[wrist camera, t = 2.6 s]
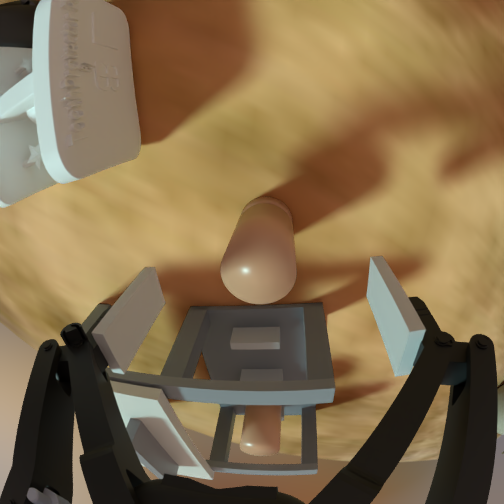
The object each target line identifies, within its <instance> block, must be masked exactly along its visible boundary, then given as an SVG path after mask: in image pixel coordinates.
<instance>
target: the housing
mask: <svg viewBox="0 0 504 504" xmlns="http://www.w3.org/2000/svg"><path fill="white" fill-rule="evenodd" d="M110 306H111V305H109V304H98V305H97V306H96V308H95V309H94V310H93V311H92V312H91V314H90V315H89V316H88V317H87V319H86V320H85V321H84V322H83V324H82V325H81V326H82V328H83V330H84V332H85V334H86V333H87V332H88V330H89V329H90V328H91V327H92V325H93V324H94V323H95V322H96V320H97V319H98V318H99V317H100V315H101V314H102V313H103V312H104V311H105V310H106V309H108V308H109V307H110ZM65 346H66V345H65ZM201 351H202V354H203V357H204V360H205V363H206V366H207V369H208V372H209V375H210V378H211V380H206V379H193V376H194V372H195V369H196V366H197V363H198V360H199V357H200V354H201ZM105 370H106V371H107V373H108V376H109V379H110V380H111V381H116V382H121V383H126V384H132V385H138V386H144V387H151V388H158V389H162V391H163V393H164V394H165V396H166V398H168V399H176V400H184V401H194V402H204V403H217V404H220V407H221V408H220V413H219V418H218V422H217V427H216V432H215V436H214V441H213V446H212V450H211V455H210V460H206V462H207V463H208V465H209V466H210V467H211V469H212V470H213V471H216V472H226V473H238V474H253V475H254V474H255V475H306V474H317V470H318V465H317V464H318V463H317V429H316V404H319V403H332V402H333V398H334V393H335V382H334V374H333V367H332V360H331V353H330V346H329V340H328V333H327V327H326V321H325V315H324V309H323V304H322V302H319V303H302V304H281V305H253V306H191V307H190V309H189V311H188V313H187V315H186V318H185V320H184V322H183V324H182V327H181V329H180V331H179V333H178V336H177V338H176V340H175V342H174V345H173V347H172V349H171V352H170V354H169V356H168V358H167V361H166V363H165V365H164V368H163V370H162V372H161V375H153V374H145V373H138V372H131V371H126V372H125V374H119V373H114V372H112V370H111V368H108V367H107V368H106V369H105ZM246 405H282V411H281V420H284V415H302V458H301V462H302V463H301V464H283V465H282V464H245V463H232V462H228V457H229V451H230V445H231V440H232V434H233V428H234V422H235V416H236V415H245V409H246Z"/></svg>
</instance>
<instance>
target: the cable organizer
mask: <svg viewBox="0 0 504 504" xmlns="http://www.w3.org/2000/svg"><path fill="white" fill-rule="evenodd" d="M140 148H141V132H140V125H139V119H138V112H137V105H136V97H135V89H134V80H133V71H132V60H131V49H130V34H129V26H128V22H127V19H126V16H125V14H124V13H123V11H122V10H121V9H119V8H118V7H116V6H114V5H112V4H110V3H108V2H106V1H104V0H41V1H40V2H39V4H38V6H37V8H36V11H35V16H34V28H33V48H32V49H31V48H18V47H0V207H7V206H9V205H12V204H14V203H16V202H18V201H20V200H22V199H24V198H26V197H29V196H31V195H33V194H35V193H37V192H39V191H41V190H44V189H46V188H48V187H50V186H53V185H55V184H57V183H61V184H65V183H69V182H72V181H75V180H79V179H82V178H85V177H87V176H90V175H92V174H95V173H97V172H100V171H102V170H105V169H108V168H110V167H113V166H116V165H119V164H121V163H124V162H127V161H130V160H133V159H135V158H137V156H138V155H139V152H140Z"/></svg>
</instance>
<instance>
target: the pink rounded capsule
mask: <svg viewBox="0 0 504 504" xmlns="http://www.w3.org/2000/svg"><path fill="white" fill-rule="evenodd" d="M220 271H221V277H222V280H223V283H224V285H225V286H226V288H227V289H228V290H229V291H230V292H231V293H232V294H233V295H234V296H235V297H237V298H239V299H240V300H243V301H245V302H248V303H252V304H268V303H272V302H275V301H278V300H280V299H281V298H283V297H284V296H286V295H287V294H288V293H289V292H290V290H291V289H292V288H293V286H294V284H295V281H296V276H297V268H296V255H295V244H294V232H293V222H292V215H291V212H290V210H289V209H288V207H287V206H286V205H285V204H284V203H283V202H282V201H280V200H278V199H276V198H273V197H259V198H256V199H254V200H252V201H250V202H249V203H248V204H247V205H246V206H245V207H244V209H243V211H242V213H241V216H240V218H239V220H238V223H237V225H236V228H235V230H234V232H233V235H232V237H231V240H230V242H229V244H228V247H227V249H226V252H225V254H224V257H223V259H222V262H221V269H220Z"/></svg>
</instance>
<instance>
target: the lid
mask: <svg viewBox="0 0 504 504" xmlns="http://www.w3.org/2000/svg"><path fill="white" fill-rule="evenodd" d="M110 383H111V386H112V389H113V392H114V395H115V398H116V402H117V405H118V407H119V410H120V413H121V416H122V419H123V421H124V424H125V427H126V429H127V432H128V435H129V437H130V439H131V442H132V444H133V447H134V449H135V451H136V454H137V456H138V458H139V460H140V463H141V465H142V466H145V467H146V468H148V469H149V470H150V471H151V472H152V473H153V474H154V475H156V476H157V477H158V478H159V479H163V476H164V473H165V474H170V475H174V476H176V475H177V474H180V475H185V476H191V477H197V478H204V479H210V480H213V477H214V472H213V470H212V469H211V467H210V466H209V465H208V463H207V462H206V460H205V459H204V458H203V456H202V455H201V453H200V452H199V450H198V449H197V447H196V446H195V444H194V443H193V441H192V440H191V438H190V436H189V435H188V433H187V432H186V430H185V429H184V427H183V425H182V424H181V422H180V420H179V419H178V417H177V415H176V414H175V412H174V410H173V408H172V407H171V405H170V403H169V401H168V400H167V398H166V396H165V394H164V393H163V391H162V389H158V388H151V387H144V386H138V385H132V384H126V383H121V382H116V381H111V380H110Z"/></svg>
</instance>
